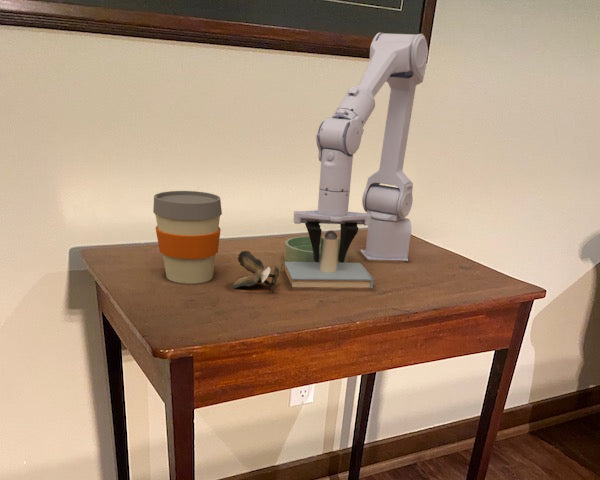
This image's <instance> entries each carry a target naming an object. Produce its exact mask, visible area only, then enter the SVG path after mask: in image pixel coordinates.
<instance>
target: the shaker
mask: <svg viewBox="0 0 600 480" xmlns="http://www.w3.org/2000/svg"><path fill="white" fill-rule="evenodd" d="M321 237H322V239H321V253H320V266H319V270H320V271H322V272H326V273H334V272H336V271H337V263H338V252H339V241H340V237H338V235H337V232H336V231H334V230H332V229H330V230H327V231H325V234H324V235H321Z"/></svg>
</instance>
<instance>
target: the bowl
mask: <svg viewBox="0 0 600 480" xmlns="http://www.w3.org/2000/svg"><path fill="white" fill-rule="evenodd" d="M321 239H322V236H321ZM321 239H320V247H319V262H320V253H321ZM283 245H284V246H283V259H284V262H315V261H314V259H313V249H312V244H311V240H310V236H309V235H301V236H293V237H289V238H287V239H286V240H285V241H284V243H283ZM339 247H340V241H339ZM349 252H350V247H349V248H348V251H347V253H346V256H345V260H344V263H349V255H350V253H349ZM338 255H339V252H338ZM338 263H340V261H339V260H338Z"/></svg>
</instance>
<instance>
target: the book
mask: <svg viewBox="0 0 600 480" xmlns="http://www.w3.org/2000/svg"><path fill="white" fill-rule="evenodd" d="M283 265H284V271H285V274H286V276H287V278H288V281H289V283H290V285H291V287H292V288H369V289H373V288H374V283H375V279H374V277H373V276H372V274H371V273H369V271H368V270H367V269H366V268H365V266H364V265H363V264H362V263H361V262H348V263H337V271H336V272H334V273H326V272H322V271H320V270H319V266H320V262H286V261H284V262H283Z"/></svg>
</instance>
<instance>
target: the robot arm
mask: <svg viewBox="0 0 600 480" xmlns="http://www.w3.org/2000/svg"><path fill="white" fill-rule="evenodd" d="M428 56H429V47H428V42H427V39H426V36H425V35H424V34H423V33H417V34H413V33H411V34H410V33H408V34H407V33H384V32H378V33H376V35H375V36H374V37H373V39H372V40H371V44H370V47H369V62H368V65H367V66H366V69H365V71H364V73H363V74H362V77H361V79H360V81H359V82H358V85H355V86H352V87H350V88H348V89H347V91H346V93H345V95H344V96H343V98H342V99H341V101H340V103H339V105H338V107H337V108H336V110H335V111H334V113H333V114H332V116H331V117H327V118H325V119H324V120H321V122H320V124H319V125H318V129H317V133H316V135H315V141H316V147H317V149H318V155H317V157H318V161H319V162H320V169H319V170H320V171H319V185H318V186H319V187H318V201H317V210H316V209H315V210H294V212H293V223H294V224H295V225H301V224H304V225H305V227H306V231H307V232H308V233H307V234H308V236H310V240H311V244H312V249H313V259H314V261H315V262H319V247H320V239H321V237H322V232H323V230H322V228H321V225H320V224H322V225H323V224H324V225H328V224H329V225H340V235H339V236H340V237H339V238H340V247H339V255H338V260H339V261H340V263H344V260H345V256H346V253H347V251H348V248H349V249H350V246H351V244H352V242H353V240H354V238H355V237H356V236H357V234H358V232H359V226H360V225H362V226H367V232H366V239H365V240H366V241H365V248H364V249H359V251H360V253H361V254H362V255H363V257H365V258H366V259H367V260H369V261H403V262H409V252H410V244H411V239H412V222H411V220H410V218H407V217H408V216H409V214H410V212H411V210H412V206H413V201H414V198H413V189H414V186H413V185H414V183H413V182H412V180H411V179H410V178H409V177H408V176H407V175H406V173H405V172H404V170H403V169H404V163H405V157H406V151H407V150H406V149H407V145H408V139H409V132H410V127H411V126H410V125H411V120H412V112H413V107H414V101H415V94H416V89H417V86H418V85H420V84H421V83H423V82H424V79H425V78H424V77H425V75H426V69H427V62H428ZM385 83H387V84H388V86H389V88H390V92H389V101H388V107H387V112H386V113H387V114H386V119H385V120H386V121H385V127H384V134H383V141H382V147H381V153H380V154H381V155H380V160H379V161H380V163H379V169H378V170H377V171H375V172H374V173H372V174H370V176H368V178H367V180H366V185H365V189H364V191H363V194H362V200H361V204H362V208H363V211H364V212H356V211H349V203H350V192H351V184H352V183H351V181H352V171H353V160H354V155H355V154H356V153H357V152H358V150H359V149H360V145H361V143H362V142H361V141H362V137H363V134H364V131H365V129H364V127H365V125H366V123H367V122H368V120H369V118H370V117H371V114H372V113H373V112H374V110H375V108H376V100H375V97H376V96H377V94H378V93H379V91H380V90H381V89H382V87H383V86H384V84H385ZM358 225H359V226H358Z"/></svg>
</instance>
